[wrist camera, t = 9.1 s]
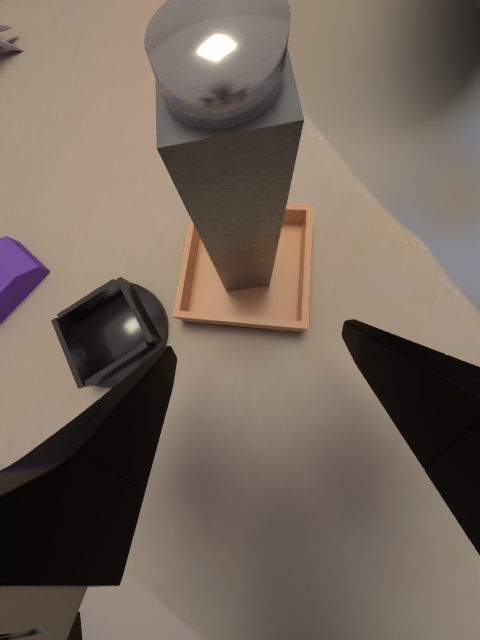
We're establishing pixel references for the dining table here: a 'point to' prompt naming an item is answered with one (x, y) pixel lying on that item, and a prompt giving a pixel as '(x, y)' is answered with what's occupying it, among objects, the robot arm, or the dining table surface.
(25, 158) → the dining table surface
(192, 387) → the dining table surface
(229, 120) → the strut
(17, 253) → the bracket
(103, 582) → the robot arm
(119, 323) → the socket cup
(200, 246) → the tray
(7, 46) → the water lily
